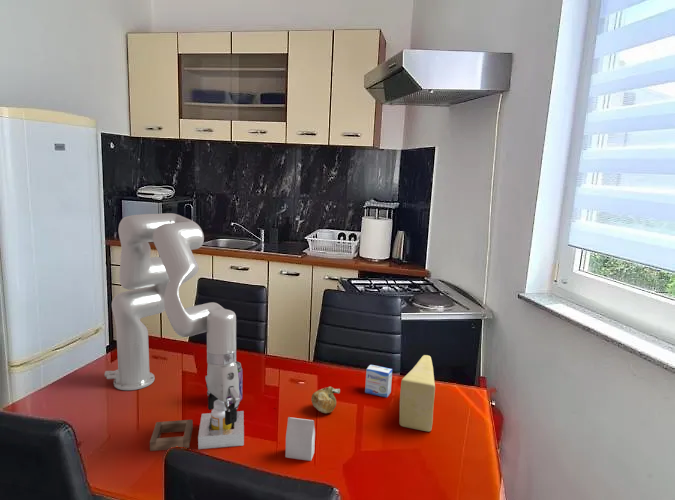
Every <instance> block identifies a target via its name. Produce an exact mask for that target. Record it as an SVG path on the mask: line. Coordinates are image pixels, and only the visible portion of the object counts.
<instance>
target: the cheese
mask: <svg viewBox="0 0 675 500" xmlns="http://www.w3.org/2000/svg"><path fill="white" fill-rule="evenodd" d="M434 374H435V373H434V366H433V360H432V357H431V356H430V355H428V354H423V355H422V356H421V358H420V359H419V360H418V361H417V363H416V364H415V365H414V366H413V368H412V369H411V370H410V371H409V372H408V373H407V374H406V375H404V377H402V379H401V382H400V391H399V392H400V393H399V422H398V424H399V425H400V427H403V428H408V429H413V430H418V431H422V432H427V433H428V432H431V431H432V428H433V423H434V422H433V421H434V406H435V405H434V403H435V395H436V394H435V393H436V383H435V382H436V381H435V375H434Z"/></svg>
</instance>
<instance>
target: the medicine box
mask: <svg viewBox="0 0 675 500" xmlns="http://www.w3.org/2000/svg"><path fill="white" fill-rule="evenodd" d="M365 370H366V373H365V388H364V393H365V394H367V395H368V394H369V395H373V396H379V397H382V398H386V399H387V398H388V397H389V396H390V394H391V393H392V382H393V381H392V379H393V368H388V367H384V366H380V365H374V364H369V365H368V366H367V368H366V369H365Z"/></svg>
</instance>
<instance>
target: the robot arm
mask: <svg viewBox="0 0 675 500" xmlns="http://www.w3.org/2000/svg"><path fill="white" fill-rule="evenodd" d="M118 237H119V242H120V245H121V251H120V252H121V253H120V262H119V264H120V266H119V275H118V277H119V284H120V285H121V287H122V288H123V289H125V290H126V291H122V292H120V293H118V294H116V295H115V296H114V297H113V299H112V300H111V310H112V314H113V318H114V325H115V330H116V331H115V332H116V349H117V369H115V370H105V371H104V377H105V378H106V380H113V386H114V388H115V389H117V390H121V391H137V390H141V389H144V388H146V387H149V386H150V385H152V384H153V383H154V381H155V374H154V373H152V372H150V352H149V351H150V349H149V330H148V328H147V326H146V325H145V324H144V323H143V322H142V321H141V319H144V318H147V317H150V316H155V315H158V314H161V313H164V312H165V313H166V316H167V319H168V322H169V323H170V326H171V328H172V329H173V331H174V332H175V333H176V334H177V335H178V336H179V337H182V338H189V337H193V336H195V335H199V334H200V335H201V334H203V333H206V364H207V370H206V372H207V373H206V374H207V375H205V376H204V377H205V382H206V383H205V384H206V385H205V387H206V389H207V391H206V394H207V410H208V411H212V410H213V408H214V401H216V400H218V399H219V400H220V401H222V402H224V404H225V407H226V411H225V424H226V425H229V424H232V423H234V422H236V421H237V411H238V409H239V407H240V402H241V401H240V398H239V378H238V370H237V365H236V363H235V362H236V361H237V315H236V313H235V311H233V310H231V309H227V308H224V307H223V306H222V305H220V304H219V303H217V302H214V301H213V302H206V303H203V304H197V305H193V306H189V307H185V306H184V305H183V303H182V301H181V298H180V287H181V286H182V285H183V284H184V283H186V282H188V281H189V280H191V279H192V278H193V277H195V275H197V274H198V272H199V264H198V263H197V260H196V258H195V256H194V254H193V250H198V249H200V248H201V247H202V246H203V245H204V240H205V236H204V232H203V230H202V228H201V226H200V225H199V224H198V223H197V222H195V221H193V220H192V219H189V218H187V217H185V216H182V215H180V214H177V213H174V212H173V213H171V212H170V213H168V212H166V213H164V212H163V213H144V214H142V213H140V214H132V215H128V216H125V217H123V218H121V220H120V222H119V224H118ZM150 243H153V244H154V247H155V249H156V251H157V254H158V255H159V256H153V257H151V252H152V250H151V249H152V248H151V244H150ZM184 307H185V308H184ZM230 395H231V398H228V399H226V398H227V397H228V396H230ZM231 400H232V404H231V405H229V404H228V401H231Z"/></svg>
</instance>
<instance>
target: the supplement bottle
mask: <svg viewBox="0 0 675 500" xmlns="http://www.w3.org/2000/svg"><path fill="white" fill-rule="evenodd" d="M228 404H229V401H228ZM225 411H226V407H225V404H224V402H222V401H220V400H219V399H218V400H216V401H214V408H213V409H211V412H210V413H211V429H210V431H213V430H226V429H233V428H232V424H229V425H226V424H225Z"/></svg>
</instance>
